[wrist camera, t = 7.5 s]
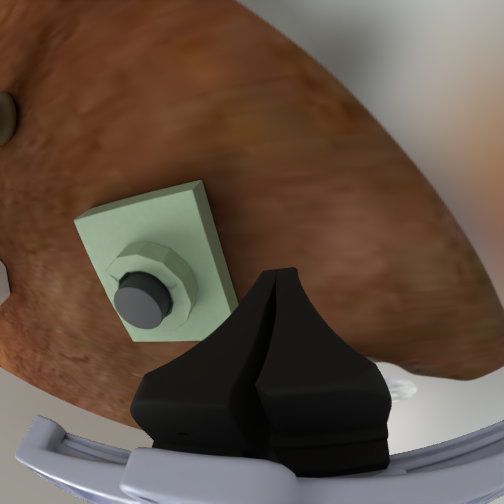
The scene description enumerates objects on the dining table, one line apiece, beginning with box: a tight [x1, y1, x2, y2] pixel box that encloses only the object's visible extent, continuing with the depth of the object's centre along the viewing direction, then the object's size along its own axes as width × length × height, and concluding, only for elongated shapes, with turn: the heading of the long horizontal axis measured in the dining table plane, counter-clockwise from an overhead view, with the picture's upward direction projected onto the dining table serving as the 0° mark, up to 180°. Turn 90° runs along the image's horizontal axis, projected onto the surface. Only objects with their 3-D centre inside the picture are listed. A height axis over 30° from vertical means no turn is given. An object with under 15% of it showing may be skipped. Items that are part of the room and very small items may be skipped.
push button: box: [114, 272, 171, 329], centre depth 19 cm, size 4×4×2 cm
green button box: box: [74, 180, 239, 341], centre depth 21 cm, size 12×10×4 cm
